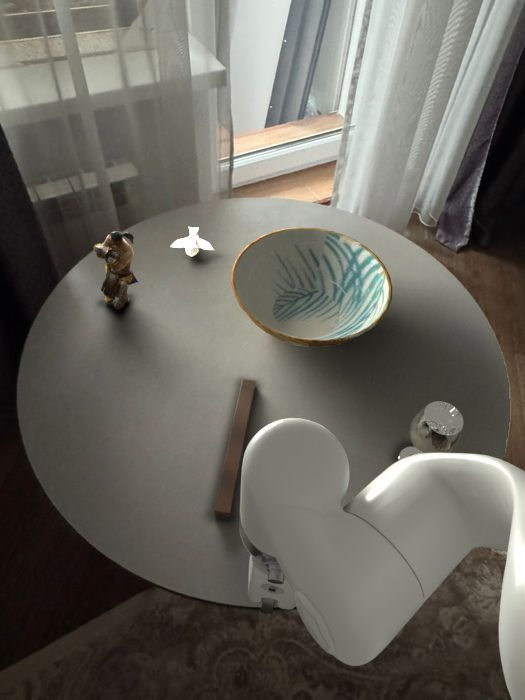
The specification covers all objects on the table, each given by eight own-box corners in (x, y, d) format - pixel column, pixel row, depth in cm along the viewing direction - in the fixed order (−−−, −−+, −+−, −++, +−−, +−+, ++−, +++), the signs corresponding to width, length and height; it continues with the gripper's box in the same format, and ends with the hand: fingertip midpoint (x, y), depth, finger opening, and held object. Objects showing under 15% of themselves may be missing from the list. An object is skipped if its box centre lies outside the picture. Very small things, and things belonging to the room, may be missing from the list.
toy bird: (168, 257, 90) (167, 231, 88) (173, 248, 94) (172, 223, 92) (212, 260, 90) (213, 235, 88) (216, 251, 94) (216, 226, 92)
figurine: (147, 292, 86) (134, 221, 74) (144, 317, 83) (130, 247, 71) (105, 292, 85) (85, 220, 74) (101, 317, 82) (79, 247, 70)
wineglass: (411, 435, 72) (439, 389, 62) (444, 464, 69) (478, 421, 60) (384, 458, 69) (409, 414, 60) (417, 489, 67) (448, 449, 57)
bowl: (255, 248, 94) (257, 213, 87) (389, 279, 91) (401, 245, 84) (209, 351, 79) (208, 317, 73) (368, 392, 76) (380, 361, 69)
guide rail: (229, 517, 63) (229, 513, 62) (214, 514, 63) (213, 510, 62) (255, 386, 75) (255, 380, 74) (242, 384, 76) (242, 378, 74)
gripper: (319, 623, 39) (295, 653, 53) (332, 448, 48) (308, 514, 62) (223, 606, 39) (225, 640, 54) (253, 435, 48) (248, 504, 63)
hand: (269, 572), depth 58 cm, fingers closed
